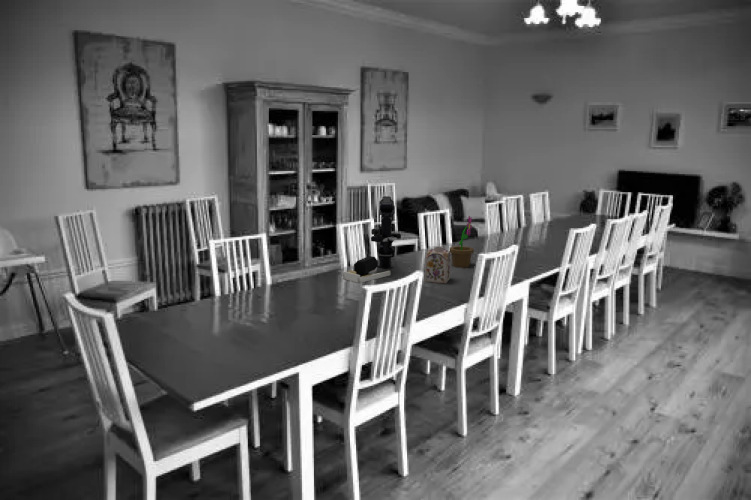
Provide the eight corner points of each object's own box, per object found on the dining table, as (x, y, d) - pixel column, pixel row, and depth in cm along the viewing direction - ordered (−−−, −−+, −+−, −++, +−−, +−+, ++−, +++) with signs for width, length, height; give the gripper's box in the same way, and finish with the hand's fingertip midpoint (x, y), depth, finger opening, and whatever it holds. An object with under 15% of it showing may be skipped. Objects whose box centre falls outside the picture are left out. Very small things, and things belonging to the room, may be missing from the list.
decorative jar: (446, 284, 301) (447, 250, 298) (424, 282, 305) (425, 248, 301) (450, 278, 313) (451, 245, 309) (429, 276, 316) (430, 244, 312)
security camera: (351, 280, 305) (351, 262, 303) (366, 273, 321) (367, 255, 319) (362, 282, 302) (363, 263, 300) (378, 274, 318) (378, 256, 316)
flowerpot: (470, 269, 334) (472, 217, 328) (445, 266, 339) (447, 215, 333) (475, 264, 347) (478, 214, 341) (452, 261, 352) (454, 212, 346)
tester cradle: (374, 271, 325) (374, 262, 324) (390, 275, 317) (390, 266, 316) (342, 278, 309) (342, 269, 308) (358, 283, 300) (358, 273, 299)
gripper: (387, 221, 330) (386, 248, 333) (363, 224, 317) (363, 252, 320) (402, 223, 322) (401, 251, 325) (378, 227, 309) (378, 255, 312)
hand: (385, 252), depth 321 cm, fingers closed
